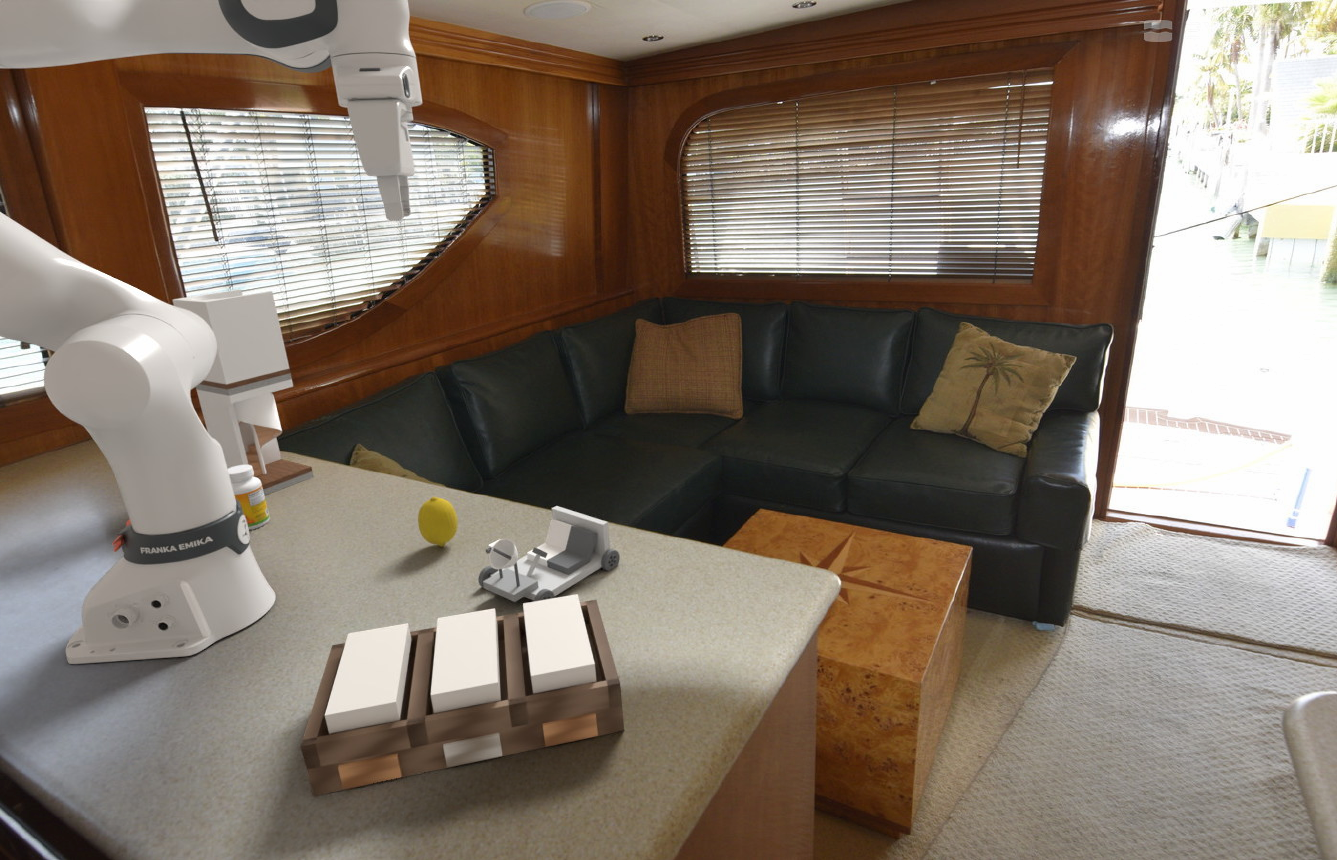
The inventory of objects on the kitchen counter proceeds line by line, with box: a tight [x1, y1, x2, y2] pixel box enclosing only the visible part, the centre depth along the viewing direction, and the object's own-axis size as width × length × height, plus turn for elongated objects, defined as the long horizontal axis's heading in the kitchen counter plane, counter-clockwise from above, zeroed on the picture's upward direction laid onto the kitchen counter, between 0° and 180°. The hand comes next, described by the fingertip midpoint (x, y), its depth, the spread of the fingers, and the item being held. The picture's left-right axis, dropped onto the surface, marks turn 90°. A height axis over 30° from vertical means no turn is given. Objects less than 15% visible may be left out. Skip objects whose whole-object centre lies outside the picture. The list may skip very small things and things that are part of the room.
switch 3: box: [522, 594, 596, 694], centre depth 76 cm, size 6×13×2 cm, turn 13°
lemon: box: [417, 496, 459, 547], centre depth 110 cm, size 6×6×8 cm
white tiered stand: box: [172, 288, 315, 496], centre depth 134 cm, size 11×11×35 cm
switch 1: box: [325, 622, 411, 734], centre depth 73 cm, size 6×13×2 cm, turn 13°
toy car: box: [478, 505, 621, 603], centre depth 99 cm, size 18×10×12 cm
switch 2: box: [431, 608, 501, 713], centre depth 75 cm, size 6×13×2 cm, turn 13°
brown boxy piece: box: [299, 599, 625, 797], centre depth 76 cm, size 28×16×6 cm, turn 103°
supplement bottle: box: [228, 465, 271, 531], centre depth 121 cm, size 5×5×10 cm
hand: (399, 218), depth 87 cm, fingers open, 8 cm apart
